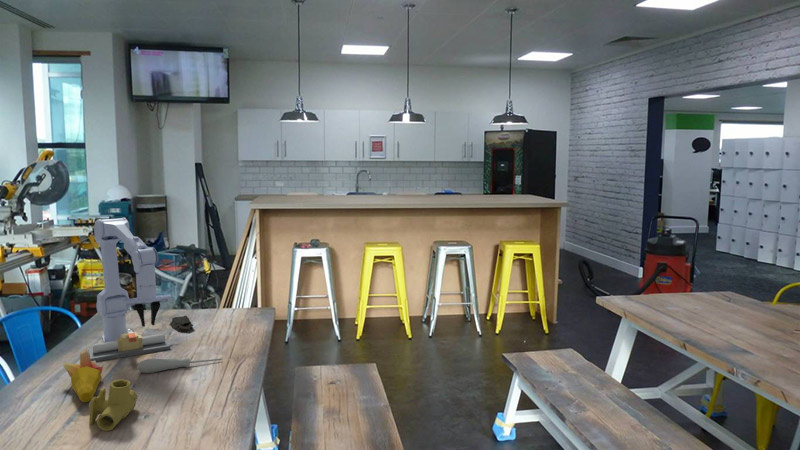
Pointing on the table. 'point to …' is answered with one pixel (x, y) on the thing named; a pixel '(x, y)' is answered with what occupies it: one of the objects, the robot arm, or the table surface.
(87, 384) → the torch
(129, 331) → the valve lever
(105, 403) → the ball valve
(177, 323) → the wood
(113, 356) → the valve stand
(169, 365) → the screwdriver
